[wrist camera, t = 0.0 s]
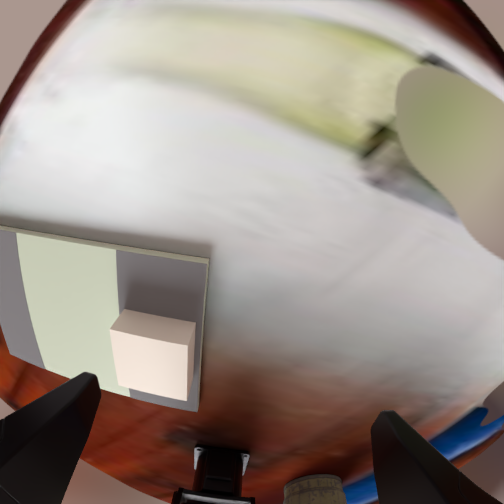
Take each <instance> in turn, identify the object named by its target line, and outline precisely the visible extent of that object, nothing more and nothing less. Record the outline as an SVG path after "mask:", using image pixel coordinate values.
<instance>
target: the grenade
mask: <svg viewBox="0 0 504 504" xmlns="http://www.w3.org/2000/svg"><path fill="white" fill-rule="evenodd" d="M284 495H285V499H284V501H283V504H347V503H346V497H345V493H344V492H343V489H342V481H341V479H340V478H339V477H338V476H335V475H329V474H316V475H309V476H304V477H300V478H297V479H295V480H292V481H290V482H289V483H287V484H286V485H285V487H284Z"/></svg>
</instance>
